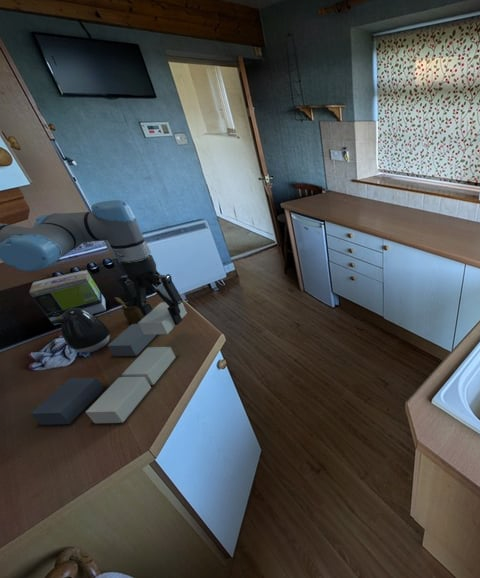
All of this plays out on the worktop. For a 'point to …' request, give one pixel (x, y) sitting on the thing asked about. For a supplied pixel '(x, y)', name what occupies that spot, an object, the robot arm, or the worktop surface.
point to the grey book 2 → (130, 341)
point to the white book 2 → (160, 320)
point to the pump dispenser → (83, 330)
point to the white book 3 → (151, 364)
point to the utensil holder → (131, 312)
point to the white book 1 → (119, 400)
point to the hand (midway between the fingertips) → (166, 322)
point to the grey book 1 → (67, 401)
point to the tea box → (67, 294)
